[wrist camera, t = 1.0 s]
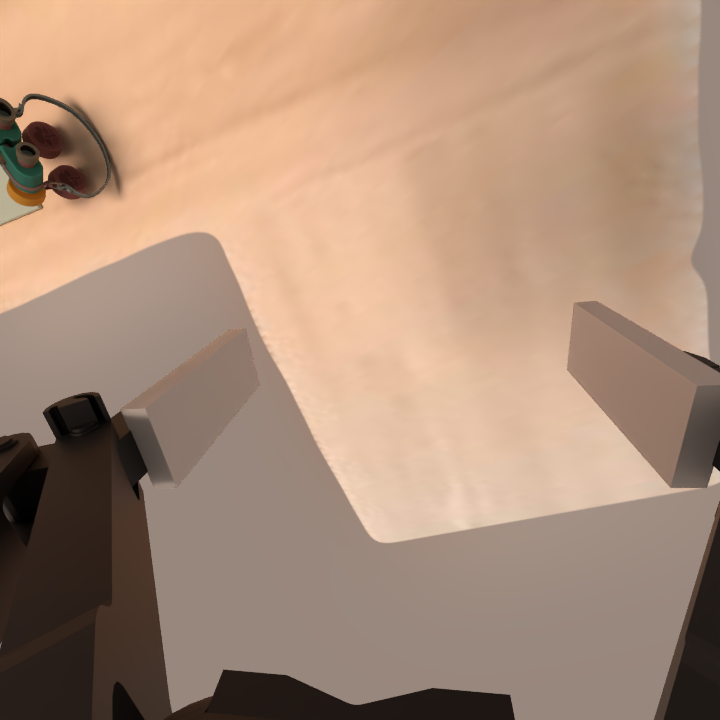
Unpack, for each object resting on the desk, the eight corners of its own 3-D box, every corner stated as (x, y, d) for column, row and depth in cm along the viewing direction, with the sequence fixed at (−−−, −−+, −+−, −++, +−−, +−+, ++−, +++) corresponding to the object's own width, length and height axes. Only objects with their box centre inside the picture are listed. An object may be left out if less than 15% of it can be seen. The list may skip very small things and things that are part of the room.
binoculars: (68, 114, 40) (-53, 121, 34) (83, 65, 34) (-63, 63, 27) (116, 202, 43) (14, 223, 37) (139, 172, 37) (19, 192, 31)
